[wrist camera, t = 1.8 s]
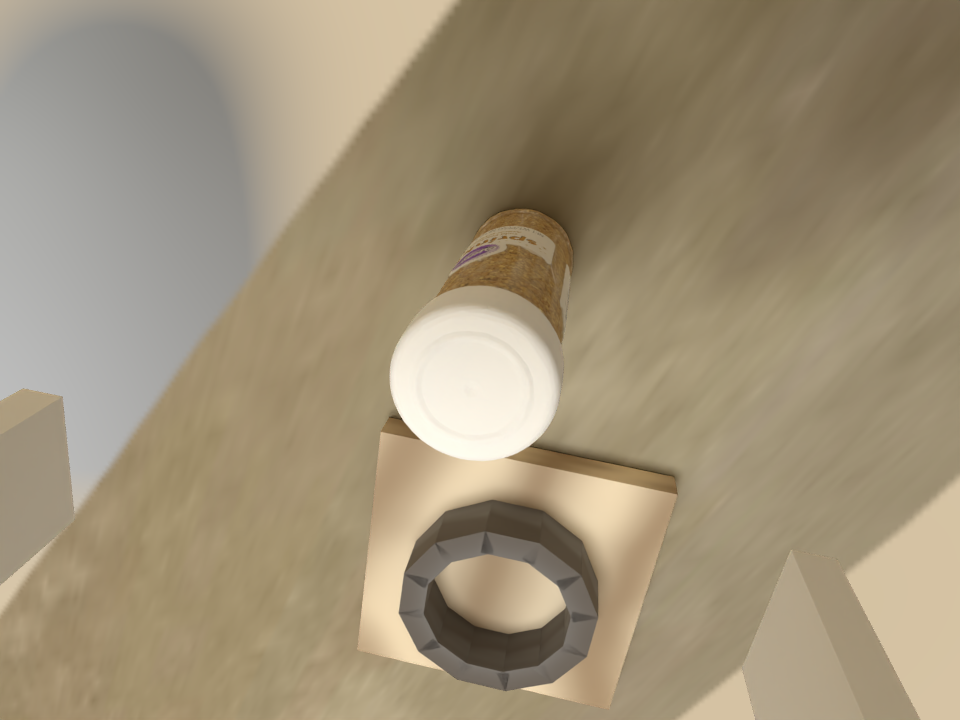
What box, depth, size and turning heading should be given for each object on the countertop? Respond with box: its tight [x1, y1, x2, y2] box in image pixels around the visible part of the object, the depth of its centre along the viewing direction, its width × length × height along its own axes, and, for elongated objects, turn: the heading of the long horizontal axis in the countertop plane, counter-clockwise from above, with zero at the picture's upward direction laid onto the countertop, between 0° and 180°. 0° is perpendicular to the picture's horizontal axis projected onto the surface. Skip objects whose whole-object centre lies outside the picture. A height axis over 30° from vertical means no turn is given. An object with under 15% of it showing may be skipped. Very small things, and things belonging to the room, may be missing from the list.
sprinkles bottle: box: [390, 209, 573, 461], centre depth 24 cm, size 5×5×14 cm
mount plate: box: [357, 417, 678, 710], centre depth 34 cm, size 14×14×4 cm
